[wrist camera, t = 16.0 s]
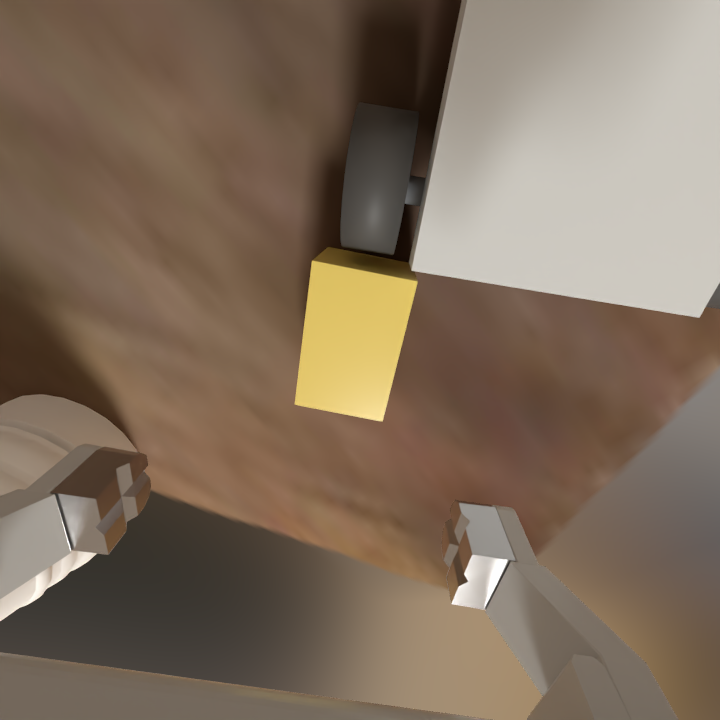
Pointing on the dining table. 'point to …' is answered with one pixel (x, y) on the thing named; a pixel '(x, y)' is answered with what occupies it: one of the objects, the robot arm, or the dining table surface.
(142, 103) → the dining table surface
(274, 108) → the dining table surface
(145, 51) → the dining table surface
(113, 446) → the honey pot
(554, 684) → the robot arm
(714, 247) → the flatbed trolley
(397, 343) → the tall gold block
